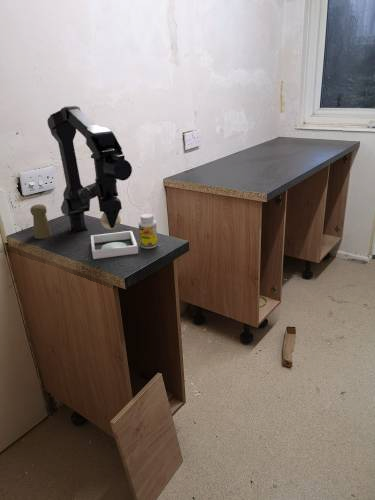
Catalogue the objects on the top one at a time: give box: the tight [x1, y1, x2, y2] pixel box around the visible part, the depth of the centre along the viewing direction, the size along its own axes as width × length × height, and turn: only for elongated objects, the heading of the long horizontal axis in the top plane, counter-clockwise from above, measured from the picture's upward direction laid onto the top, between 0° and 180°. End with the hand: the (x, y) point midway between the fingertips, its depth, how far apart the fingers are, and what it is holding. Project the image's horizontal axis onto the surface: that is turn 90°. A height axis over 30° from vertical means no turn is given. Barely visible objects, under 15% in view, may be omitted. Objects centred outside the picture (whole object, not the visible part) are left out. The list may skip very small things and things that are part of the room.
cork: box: [30, 203, 53, 240], centre depth 137 cm, size 6×6×11 cm
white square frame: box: [90, 230, 139, 260], centre depth 127 cm, size 14×14×2 cm
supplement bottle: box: [138, 213, 158, 249], centre depth 126 cm, size 6×6×10 cm
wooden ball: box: [100, 212, 122, 230], centre depth 123 cm, size 6×6×6 cm
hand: (111, 224), depth 124 cm, fingers closed on wooden ball, 6 cm apart
